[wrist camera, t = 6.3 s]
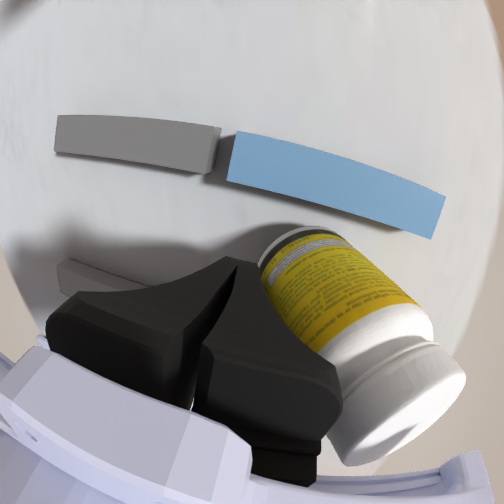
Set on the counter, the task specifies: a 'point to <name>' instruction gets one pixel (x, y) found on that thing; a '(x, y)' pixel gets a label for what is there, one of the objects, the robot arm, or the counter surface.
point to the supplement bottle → (361, 341)
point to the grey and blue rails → (242, 176)
